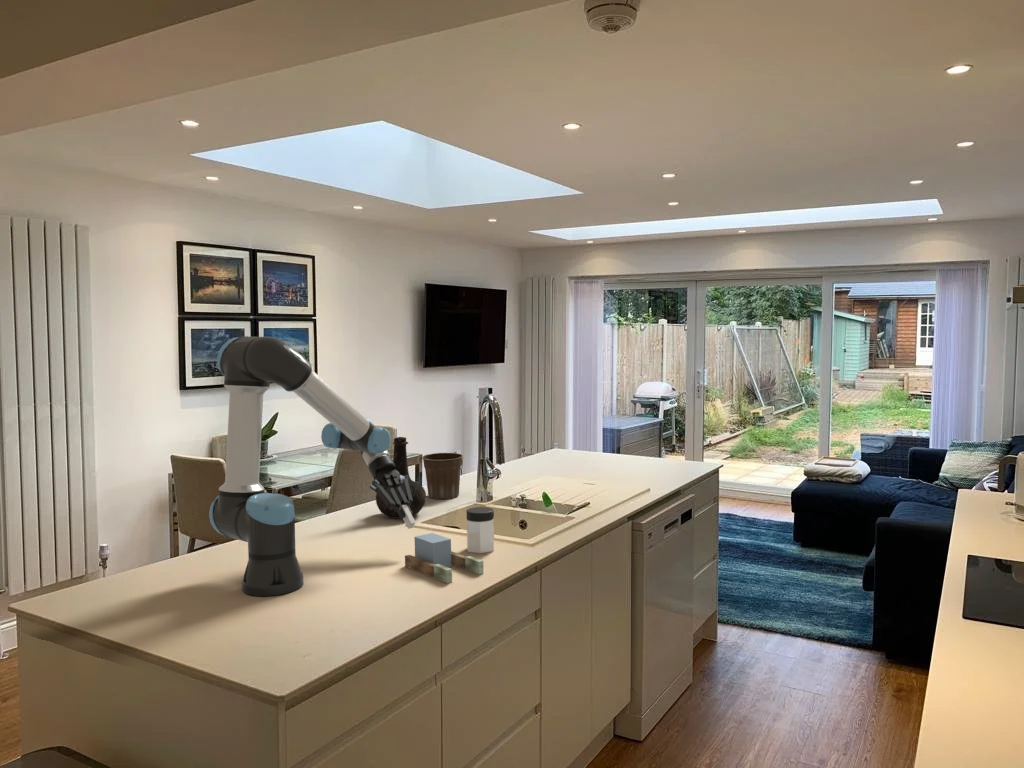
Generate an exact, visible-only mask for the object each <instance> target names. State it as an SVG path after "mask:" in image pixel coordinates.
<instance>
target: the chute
mask: <svg viewBox="0 0 1024 768" xmlns="http://www.w3.org/2000/svg"><path fill="white" fill-rule="evenodd" d="M452 565H453V566H455V567H458V568H461V569H463V570H465V571H468V572H471V573H473V574H476V575H484V560H482V559H480V558H476V557H474V556H471V555H469V556H466V555H463V554H461V553H457V552H454V551H452V550H451V566H452ZM404 566H405V567H406V568H409V569H410V570H414V571H416V572H418V573H420V574H424V575H425V576H428V577H431V578H433V579H434V580H435V579H436V580H438V581H440V582H443V583H445V584H450V583H451V584H452V583H453V568H451V567H450V568H448V567H445V566H443V565H440V564H436V565H435V564H433V563H430V562H427V561H425V560H422V559H420V558H417V557H415V555H412V554H406V555H404Z"/></svg>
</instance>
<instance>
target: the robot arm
mask: <svg viewBox="0 0 1024 768" xmlns="http://www.w3.org/2000/svg"><path fill="white" fill-rule="evenodd" d="M217 353H218V354H217V357H216V365H217V369H218V371H219V372H220V373H221V375H222V376H223V377H224V378H223V379H224V381H223V387H224V388H225V389H226V390H227V391H228V393H229V399H228V401H229V402H228V417H227V418H228V419H227V420H228V421H227V422H228V423H227V438H226V459H225V460H226V461H225V477H224V478H225V480H224V483H223V484H222V485H221V486H219V487H218V495H217V496H216V497H215V499H214V500H213V501H212V502H211V504H210V507H209V512H208V513H209V514H208V518H209V522H210V525H211V526H212V527H213V530H215V531H216V532H217V533H218V534H219V535H222V536H225V537H226V538H227V539H232V540H234V539H235V540H238V541H242V542H245V543H247V551H248V552H247V553H248V554H247V555H248V560H247V563H246V567H245V571H244V575H243V578H242V580H241V585H242V586H241V587H242V588H241V589H242V592H243V593H244V594H246V595H249V596H255V597H273V596H279V595H284V594H289V593H292V592H295V591H297V590H299V589H300V588H302V587H303V586H304V584H305V583H304V580H305V579H304V574H303V571H302V570H301V569H302V568H301V566H300V563H299V561H298V558H297V554H296V524H295V523H296V517H295V516H296V513H295V512H296V510H295V505H294V502H293V499H292V498H290V497H289V496H288V495H284V494H281V493H271V492H270V493H269V492H265V487H264V486H263V485H262V484H261V483H260V470H261V469H260V468H261V465H260V464H261V446H262V424H263V411H264V410H263V408H264V394H265V392H267V391H268V390H269V389H270V387H271V386H270V385H271V383H273V384H275V385H277V386H280V387H281V388H282V389H284V390H285V391H286V392H289V393H291V392H293V393H295V394H296V395H297V396H298V397H299V398H301V400H302V401H304V402H305V403H306V404H308V405H309V406H310V408H312V409H313V410H315V411H316V412H317V413H318V414H320V415H321V416H322V417H323V418H324V419H325V420H327V421H328V423H327V424H325V425H324V426H323V428H322V430H321V436H320V438H321V443H322V444H323V446H324V447H325V448H328V449H334V450H335V449H338V450H339V449H341V450H349V451H357V452H358V451H359V452H360V454H361V456H362V458H363V460H364V462H365V464H366V466H367V467H368V470H369V472H370V475H371V477H372V478H373V480H372V482H371V484H370V485H369V488H370V489H371V490H372V491H374V492H375V493H376V494H378V496H379V497H380V498H381V499H382V501H383V502H384V503H385V505H386V506H387V507H388V508H389V509H390V510H392V509H395V510H394V511H395V512H398V514H399V516H400V518H399V519H402V520H403V522H404V524H405V526H406V527H407V529H409V530H410V529H413V527H415V525H416V523H417V522H416V520H415V518H414V517H413V516H412V514H413V512H412V510H411V508H410V504H411V503H412V501H413V499H412V495H411V491H410V487H409V483H408V477H409V476H410V475H409V476H408V475H405V476H402V475H400V473H399V472H398V471H397V470H396V467H395V464H394V462H393V457H392V456H391V454H390V453H389V450H388V448H389V447H390V445H391V440H392V437H391V434H390V431H389V430H388V429H386V428H384V427H382V426H375V425H374V423H373V421H372V420H371V419H370V418H369V417H365V415H363V414H362V413H361V412H360V411H358V409H356V408H355V406H353V405H352V404H351V403H350V402H348V400H346V398H344V397H343V396H342V395H341V394H340V393H339V392H337V391H336V389H334V388H333V387H332V386H331V385H329V383H328V382H326V381H325V380H324V379H323V378H322V377H321V376H320V375H318V374H317V372H315V371H314V368H313V365H312V363H311V362H310V361H309V360H308V359H307V358H306V357H304V356H303V354H301V353H299V351H297V350H296V349H295V348H293V347H292V346H291V345H289V344H287V343H286V342H285V341H283V340H281V339H279V338H277V337H273V336H248V335H247V336H246V335H245V336H244V335H243V336H238V337H233V338H231V339H228V340H227V341H226V342H225V343H223V344H222V346H221V347H220V349H219V350H218V352H217ZM399 480H400V483H402V484H401V486H402V489H401V487H400V483H399ZM402 490H403V491H402Z"/></svg>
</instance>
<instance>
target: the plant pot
mask: <svg viewBox="0 0 1024 768" xmlns="http://www.w3.org/2000/svg"><path fill="white" fill-rule="evenodd" d="M463 458H464V455H463V454H462V453H457V452H456V453H455V452H435V453H429V454H425V455H424V454H423V456H421V459H422V460H423V468H424V469H425V470H424V471H425V479H426V487H427V488H426V489H427V496H428V498H429V499H432V498H433V499H434V500H441V499H445V500H449V499H451V498H452V499H455V498H457V497H459V496H460V485H461V484H460V482H461V467H462V466H463V465H462V462H463ZM433 499H432V500H433Z"/></svg>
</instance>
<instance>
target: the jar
mask: <svg viewBox="0 0 1024 768" xmlns="http://www.w3.org/2000/svg"><path fill="white" fill-rule="evenodd" d="M494 512H495V509H494V508H491V507H487V506H476V507H469V508H467V509H466V513H465V514H466V541H467V542H466V547H467V548H466V549H467V550H466V551H467V552H468V553H474V554H480V555H481V554H486V553H491V552H494V551H495V547H494V546H495V543H494V542H495V526H494V516H495V513H494Z"/></svg>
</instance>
